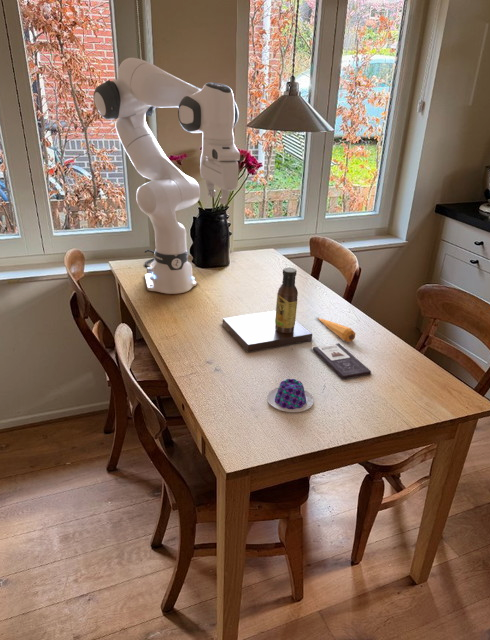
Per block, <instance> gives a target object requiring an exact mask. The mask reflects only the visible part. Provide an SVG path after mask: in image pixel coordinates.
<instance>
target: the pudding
mask: <svg viewBox="0 0 490 640" xmlns="http://www.w3.org/2000/svg"><path fill="white" fill-rule="evenodd" d="M266 398H267V402H268V404H270V406H272V408H275V409H276V410H279V411H283V412H287V413H300V412H304V411H307V410H309V409H310V408H312V407H313V405H314V403H315V399H314V396H313V395H312V394H311V393H310V392H309V391H307V390H305V386H304V384H303V383H302V381H300V380H297V379H295V378H286V379H285V380H284V379H283V380H281V381H280V383H279V385H278V387H275V388H273V389H272V390H270V391H269V392H268V393H267V396H266Z"/></svg>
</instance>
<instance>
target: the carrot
mask: <svg viewBox="0 0 490 640" xmlns="http://www.w3.org/2000/svg"><path fill="white" fill-rule="evenodd" d="M317 319H318V320H319V321H320V322H321V323H322V324H323V325H324V326H325V327H327V328H328V329H329V330H330V331H332V332H333V333H335V335H336V336H338V337H339V338H340V339H342V340H343V341H344V342H345V343H346V342H347V343H351V342H353V341H354V340H355V339H356V332H355V331H354V329H352V328H351V327H349V326H345V325H342V324H339V323H338V322H337V323H336V322H334V321H330V320H327V319H323V318H320V317H317Z"/></svg>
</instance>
